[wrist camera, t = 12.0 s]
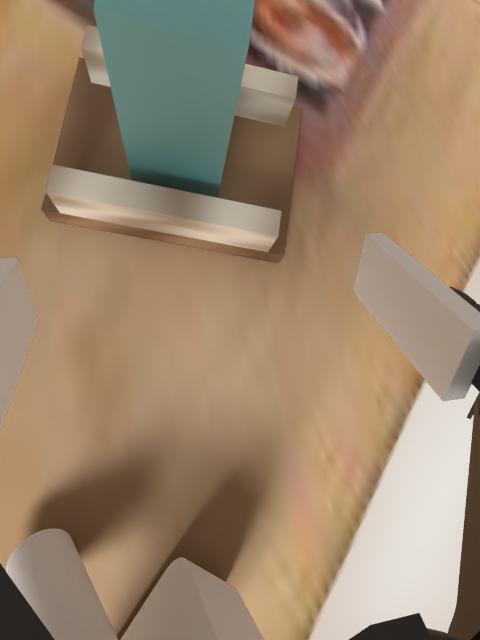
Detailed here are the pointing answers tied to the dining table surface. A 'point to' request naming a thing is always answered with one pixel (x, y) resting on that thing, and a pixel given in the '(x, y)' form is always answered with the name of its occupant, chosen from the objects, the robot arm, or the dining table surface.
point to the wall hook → (154, 616)
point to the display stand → (170, 204)
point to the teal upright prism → (175, 84)
